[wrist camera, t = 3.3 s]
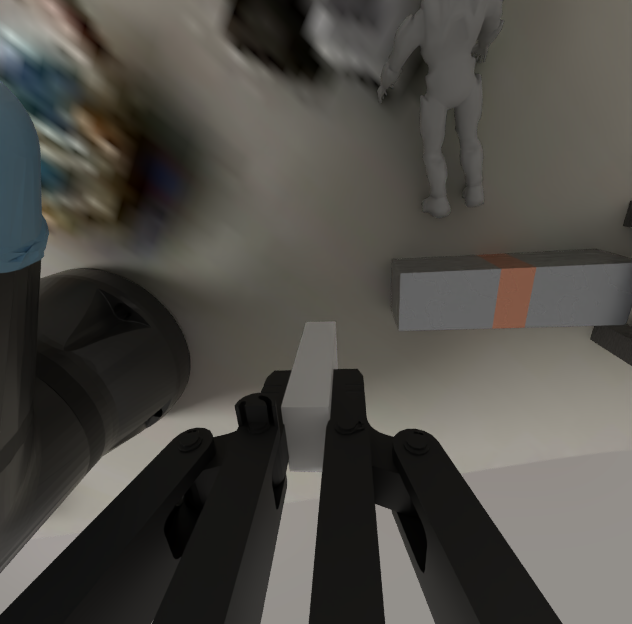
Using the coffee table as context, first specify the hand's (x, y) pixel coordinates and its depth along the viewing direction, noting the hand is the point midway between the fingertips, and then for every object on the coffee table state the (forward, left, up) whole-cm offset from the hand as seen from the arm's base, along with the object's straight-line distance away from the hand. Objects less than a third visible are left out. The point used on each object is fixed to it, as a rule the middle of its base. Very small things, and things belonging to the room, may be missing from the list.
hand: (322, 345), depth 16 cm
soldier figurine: (+7, +11, -10) cm, 16 cm away
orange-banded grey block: (+12, 0, -9) cm, 15 cm away
